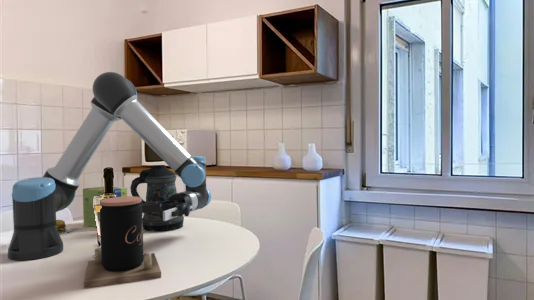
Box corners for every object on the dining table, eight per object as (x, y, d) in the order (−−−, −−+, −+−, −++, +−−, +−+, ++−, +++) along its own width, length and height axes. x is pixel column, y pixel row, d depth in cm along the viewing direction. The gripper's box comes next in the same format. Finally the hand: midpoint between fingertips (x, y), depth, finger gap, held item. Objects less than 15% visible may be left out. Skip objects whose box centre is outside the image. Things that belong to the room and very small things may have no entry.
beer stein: (190, 228, 157) (189, 165, 156) (141, 235, 146) (139, 168, 146) (175, 221, 171) (173, 163, 170) (129, 227, 160) (127, 165, 159)
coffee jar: (130, 273, 100) (128, 202, 100) (93, 271, 102) (90, 202, 102) (151, 260, 111) (149, 196, 110) (116, 259, 113) (114, 196, 112)
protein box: (108, 229, 158) (106, 190, 157) (83, 225, 165) (81, 188, 165) (128, 224, 167) (127, 187, 167) (104, 220, 175) (103, 185, 174)
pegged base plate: (84, 288, 95) (83, 265, 95) (88, 266, 112) (87, 246, 112) (161, 277, 102) (160, 256, 101) (154, 258, 118) (153, 239, 118)
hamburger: (67, 237, 148) (67, 222, 148) (34, 238, 148) (34, 223, 148) (80, 230, 160) (80, 216, 160) (50, 230, 160) (49, 217, 160)
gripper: (215, 216, 132) (181, 230, 112) (151, 212, 140) (109, 225, 120) (214, 193, 132) (181, 203, 111) (150, 191, 140) (108, 200, 120)
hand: (143, 215), depth 116 cm, fingers open, 13 cm apart
